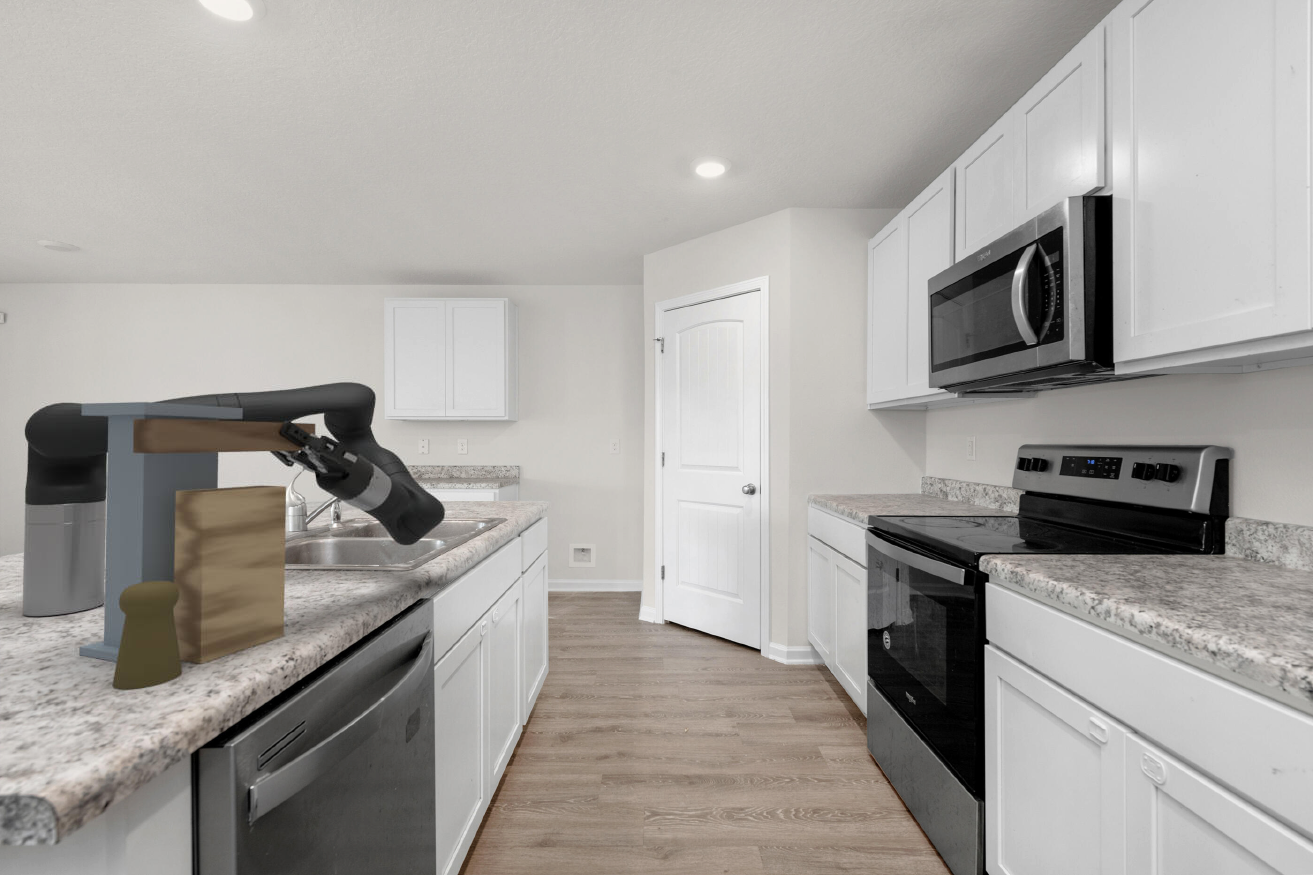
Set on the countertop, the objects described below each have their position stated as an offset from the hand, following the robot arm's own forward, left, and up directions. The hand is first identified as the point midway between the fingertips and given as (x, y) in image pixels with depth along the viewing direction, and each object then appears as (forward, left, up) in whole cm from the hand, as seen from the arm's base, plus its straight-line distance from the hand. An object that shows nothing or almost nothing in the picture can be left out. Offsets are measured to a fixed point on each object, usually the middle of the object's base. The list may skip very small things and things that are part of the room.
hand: (271, 427), depth 82 cm
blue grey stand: (-10, -8, -29) cm, 32 cm away
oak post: (0, -5, -29) cm, 30 cm away
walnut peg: (0, -5, -3) cm, 6 cm away
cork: (+1, -16, -30) cm, 33 cm away
